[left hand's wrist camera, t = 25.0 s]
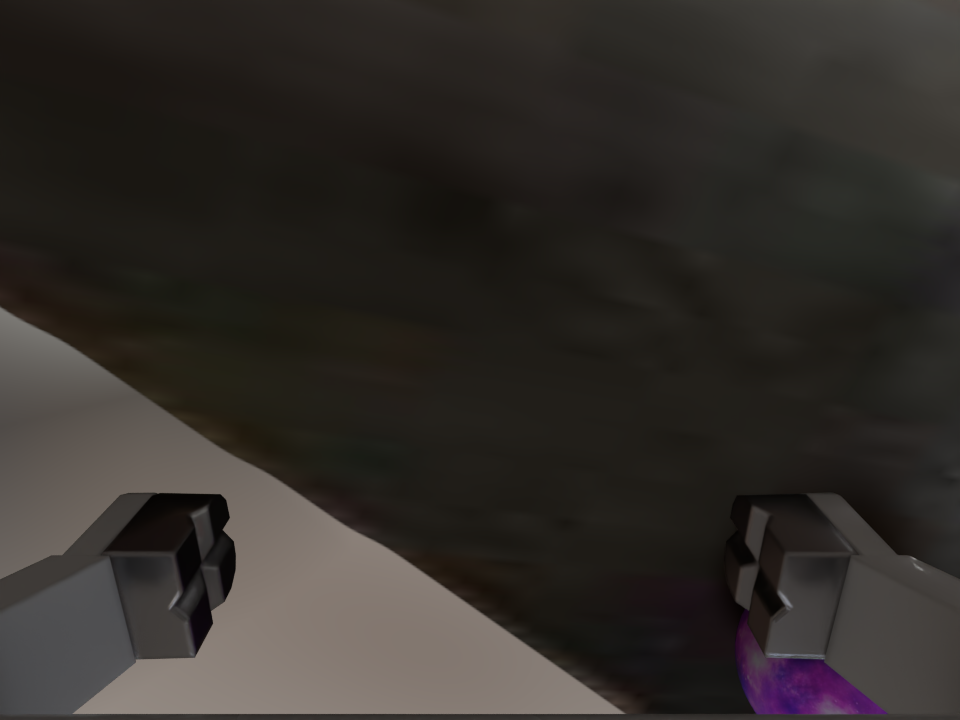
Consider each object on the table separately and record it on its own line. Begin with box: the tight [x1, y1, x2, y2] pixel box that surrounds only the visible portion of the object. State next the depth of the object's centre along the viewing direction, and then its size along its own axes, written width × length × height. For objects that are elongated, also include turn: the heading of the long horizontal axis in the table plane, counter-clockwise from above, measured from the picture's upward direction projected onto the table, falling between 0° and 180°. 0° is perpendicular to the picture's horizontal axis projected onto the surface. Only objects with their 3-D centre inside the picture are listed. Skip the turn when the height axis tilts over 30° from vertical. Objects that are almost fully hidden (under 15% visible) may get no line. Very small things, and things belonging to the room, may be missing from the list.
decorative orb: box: [735, 609, 888, 714], centre depth 53 cm, size 15×15×15 cm
